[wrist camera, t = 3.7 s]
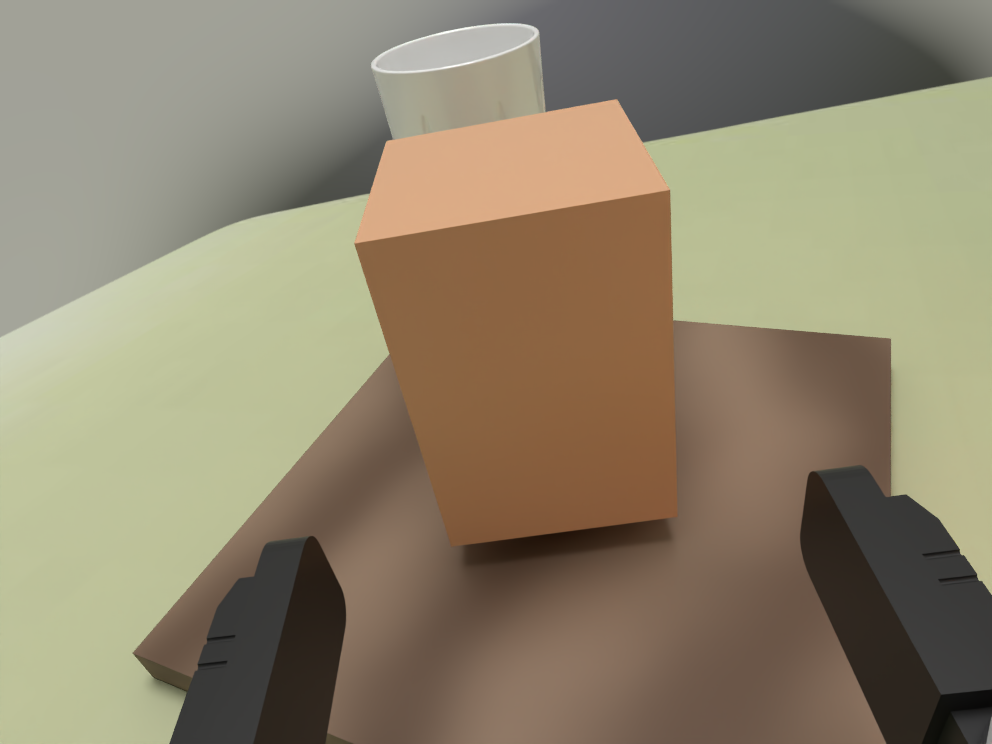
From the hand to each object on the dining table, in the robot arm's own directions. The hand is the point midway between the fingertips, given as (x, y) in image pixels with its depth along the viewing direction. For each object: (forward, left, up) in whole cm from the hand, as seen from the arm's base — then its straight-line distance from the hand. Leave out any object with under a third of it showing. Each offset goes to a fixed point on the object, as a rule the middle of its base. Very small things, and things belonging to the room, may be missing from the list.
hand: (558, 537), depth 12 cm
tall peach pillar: (-3, +7, -5) cm, 9 cm away
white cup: (-13, +24, -8) cm, 28 cm away
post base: (-3, +7, -8) cm, 11 cm away
